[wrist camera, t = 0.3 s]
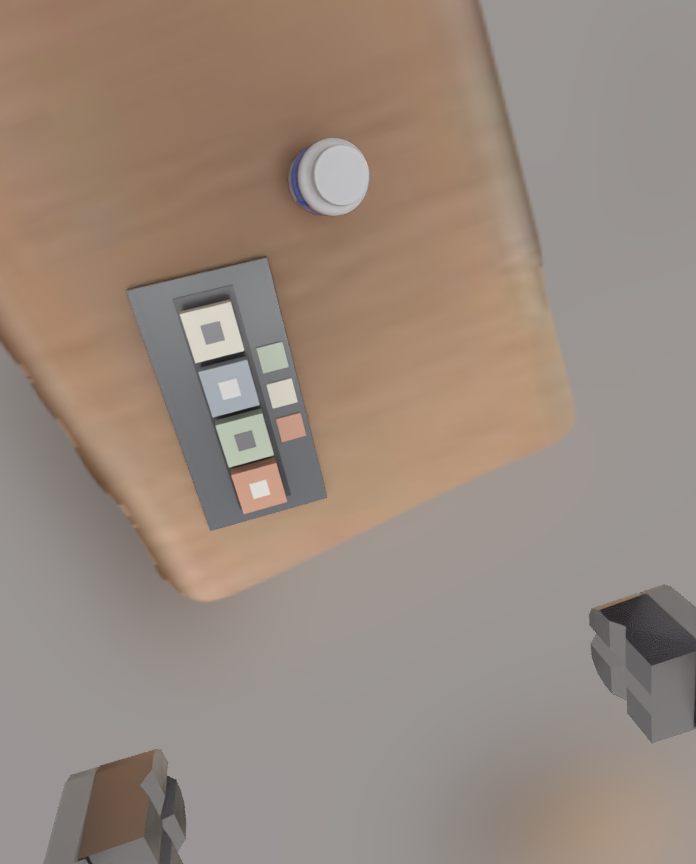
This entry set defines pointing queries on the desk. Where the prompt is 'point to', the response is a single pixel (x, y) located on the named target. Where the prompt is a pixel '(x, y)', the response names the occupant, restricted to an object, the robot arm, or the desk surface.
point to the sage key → (244, 437)
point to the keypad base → (261, 347)
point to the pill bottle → (329, 177)
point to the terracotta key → (258, 485)
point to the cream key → (212, 331)
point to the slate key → (228, 386)
